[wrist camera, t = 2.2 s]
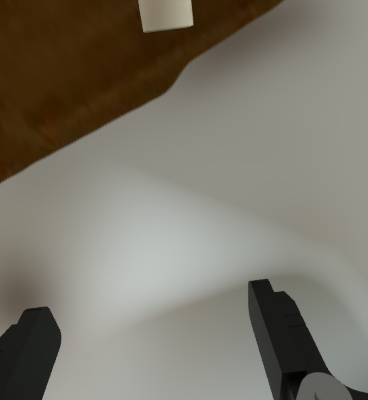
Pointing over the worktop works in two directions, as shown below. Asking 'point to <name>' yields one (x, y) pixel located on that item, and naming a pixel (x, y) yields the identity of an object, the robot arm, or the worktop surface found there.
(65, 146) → the worktop surface
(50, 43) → the worktop surface
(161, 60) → the worktop surface
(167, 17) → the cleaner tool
